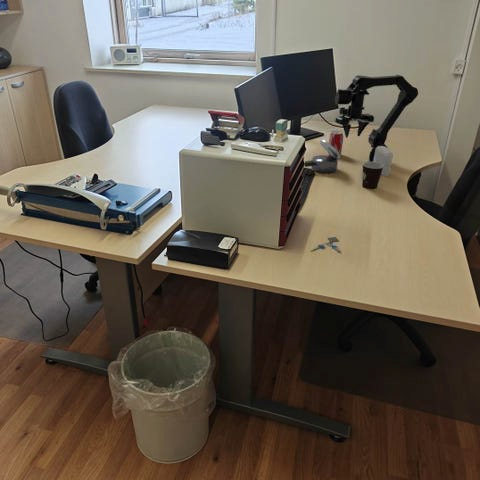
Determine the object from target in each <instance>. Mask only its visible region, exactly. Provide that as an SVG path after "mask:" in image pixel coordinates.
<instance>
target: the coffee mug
mask: <svg viewBox="0 0 480 480" xmlns="http://www.w3.org/2000/svg"><path fill="white" fill-rule="evenodd" d="M382 170H383V165H382V164H380V163H377V162H369V161H365V162H363V163H362V178H361V179H362V183H361V187H362V188H364V189H365V188H366V190H371V189H372V190H376V189H377V188H378V185H379V183H380V179H381V177H382V175H381V173H382Z"/></svg>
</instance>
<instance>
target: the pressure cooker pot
mask: <svg viewBox="0 0 480 480" xmlns="http://www.w3.org/2000/svg"><path fill="white" fill-rule="evenodd" d="M338 163H339V159H337V158H335V157H334V156H331V155H327V154H326V155H325V154H323V155H322V154H321V155H315V156H313V157H312V159H311V160H305V167H304V168H306V167H307V168H308V167H311V170H312V169H313V170H314V171H313V170H312V171H313V172H314V173H318V174H324V175H327V174H329V175H330V174H334V173H336V172H337V171H338Z"/></svg>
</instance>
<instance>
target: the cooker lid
mask: <svg viewBox="0 0 480 480" xmlns="http://www.w3.org/2000/svg"><path fill="white" fill-rule="evenodd" d="M319 144H320V146H321V147H322V148H323V149H324V150H326V152H327V153H328V152H329V153H330V154H331V155H332V157H335V158H337V159H338V160H339V159H340V158H341V155H342V154H339V152H338V151H337V150H336V149H335V148H334V147H333V146H332V145H331V144H329V141H327V140H325V139H321V140H320V141H319ZM330 154H329V155H330ZM331 155H330V156H331Z"/></svg>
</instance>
